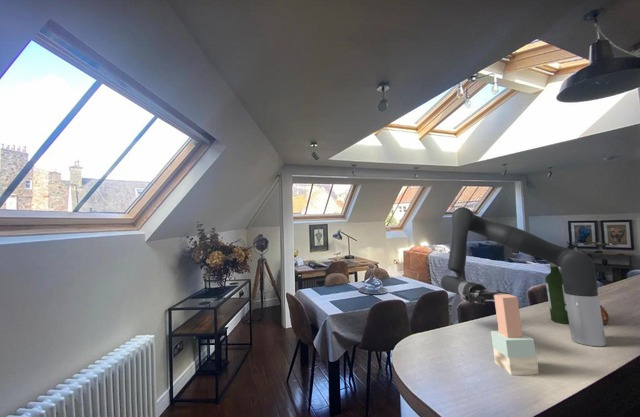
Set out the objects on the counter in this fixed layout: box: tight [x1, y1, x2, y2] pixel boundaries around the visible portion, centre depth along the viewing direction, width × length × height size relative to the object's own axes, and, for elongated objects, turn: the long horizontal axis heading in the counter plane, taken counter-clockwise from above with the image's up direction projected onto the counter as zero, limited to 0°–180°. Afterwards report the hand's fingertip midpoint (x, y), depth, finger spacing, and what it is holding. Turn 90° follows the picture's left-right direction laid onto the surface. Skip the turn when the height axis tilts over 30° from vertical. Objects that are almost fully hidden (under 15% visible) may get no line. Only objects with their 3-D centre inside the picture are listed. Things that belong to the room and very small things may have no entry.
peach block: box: [493, 293, 524, 338], centre depth 85 cm, size 4×4×12 cm
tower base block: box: [492, 346, 540, 376], centre depth 83 cm, size 8×8×5 cm
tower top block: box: [490, 330, 537, 358], centre depth 84 cm, size 8×8×5 cm
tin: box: [600, 304, 610, 325], centre depth 120 cm, size 15×3×8 cm, turn 168°
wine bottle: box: [544, 262, 569, 325], centre depth 123 cm, size 8×8×30 cm
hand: (497, 301), depth 91 cm, fingers open, 8 cm apart
